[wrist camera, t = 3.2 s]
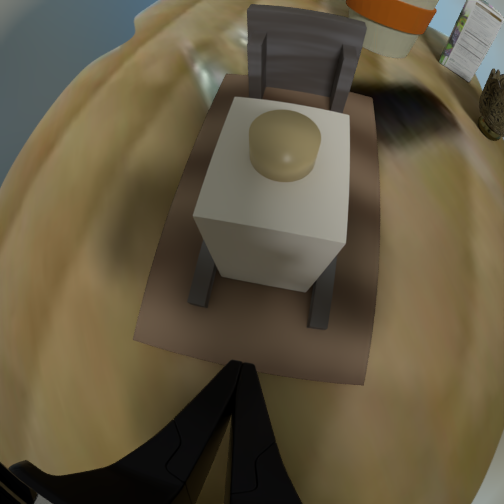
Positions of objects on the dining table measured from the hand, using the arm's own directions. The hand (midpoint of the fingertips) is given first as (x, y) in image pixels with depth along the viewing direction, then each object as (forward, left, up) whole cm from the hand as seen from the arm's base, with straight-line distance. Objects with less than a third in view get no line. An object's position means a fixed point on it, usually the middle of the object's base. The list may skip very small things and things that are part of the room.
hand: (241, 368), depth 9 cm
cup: (+27, -24, -7) cm, 37 cm away
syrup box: (+42, -24, -7) cm, 49 cm away
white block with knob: (+7, 0, -6) cm, 10 cm away
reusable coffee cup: (+40, -10, -7) cm, 42 cm away
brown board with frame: (+11, 0, -7) cm, 13 cm away
